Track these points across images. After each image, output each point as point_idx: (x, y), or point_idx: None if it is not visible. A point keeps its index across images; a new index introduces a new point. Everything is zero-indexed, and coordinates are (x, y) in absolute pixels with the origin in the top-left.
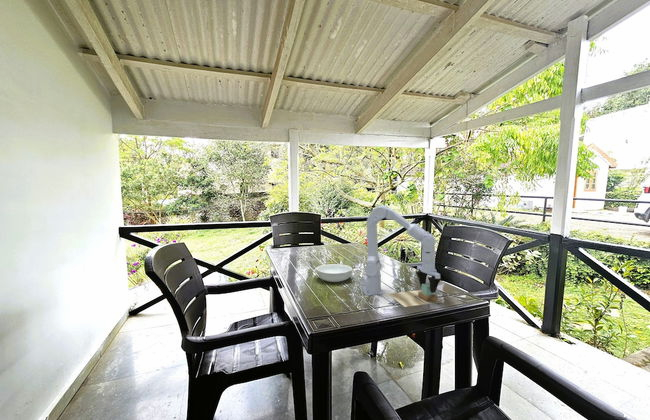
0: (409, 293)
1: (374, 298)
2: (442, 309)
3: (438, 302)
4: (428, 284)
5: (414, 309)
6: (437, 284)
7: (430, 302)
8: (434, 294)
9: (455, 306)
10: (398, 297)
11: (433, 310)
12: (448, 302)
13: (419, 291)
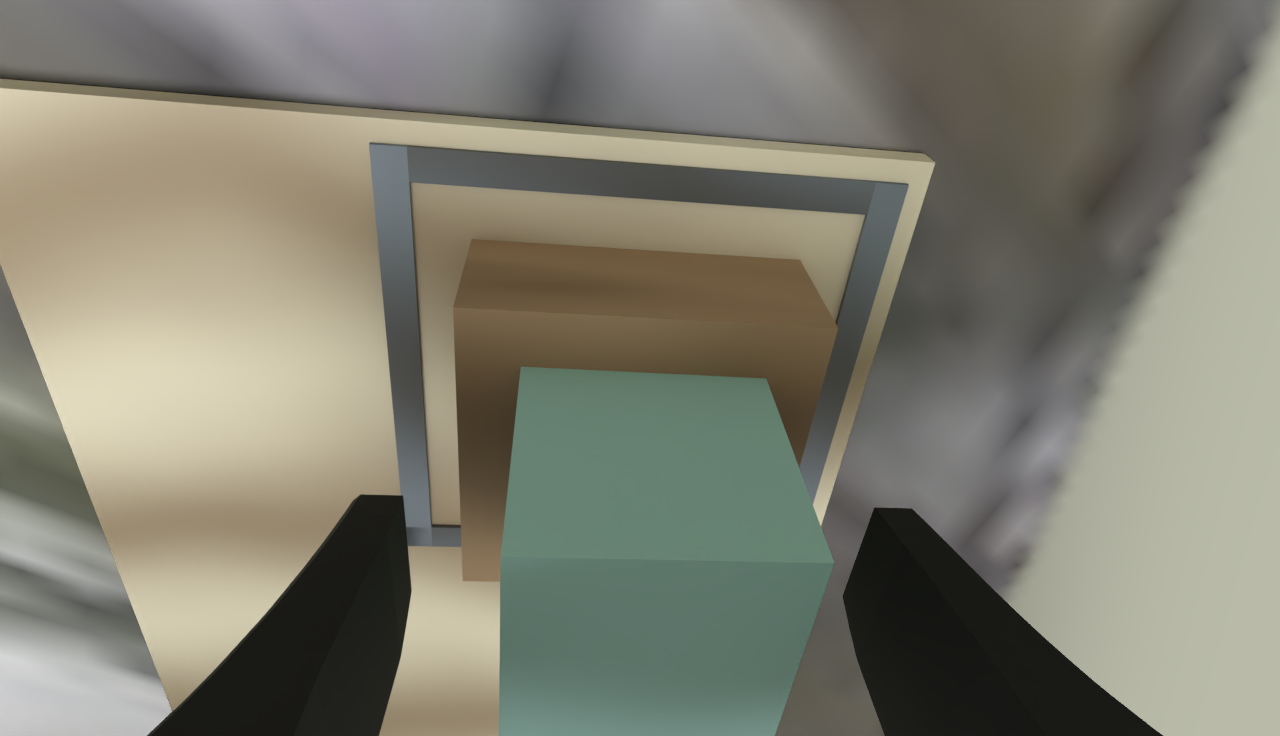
0: (234, 532)
1: None
2: (1092, 408)
3: (886, 313)
4: (608, 628)
5: (831, 706)
6: (1117, 725)
7: (811, 457)
8: (764, 372)
9: (1217, 60)
10: (398, 733)
11: (1014, 541)
12: (973, 30)
13: (112, 277)
